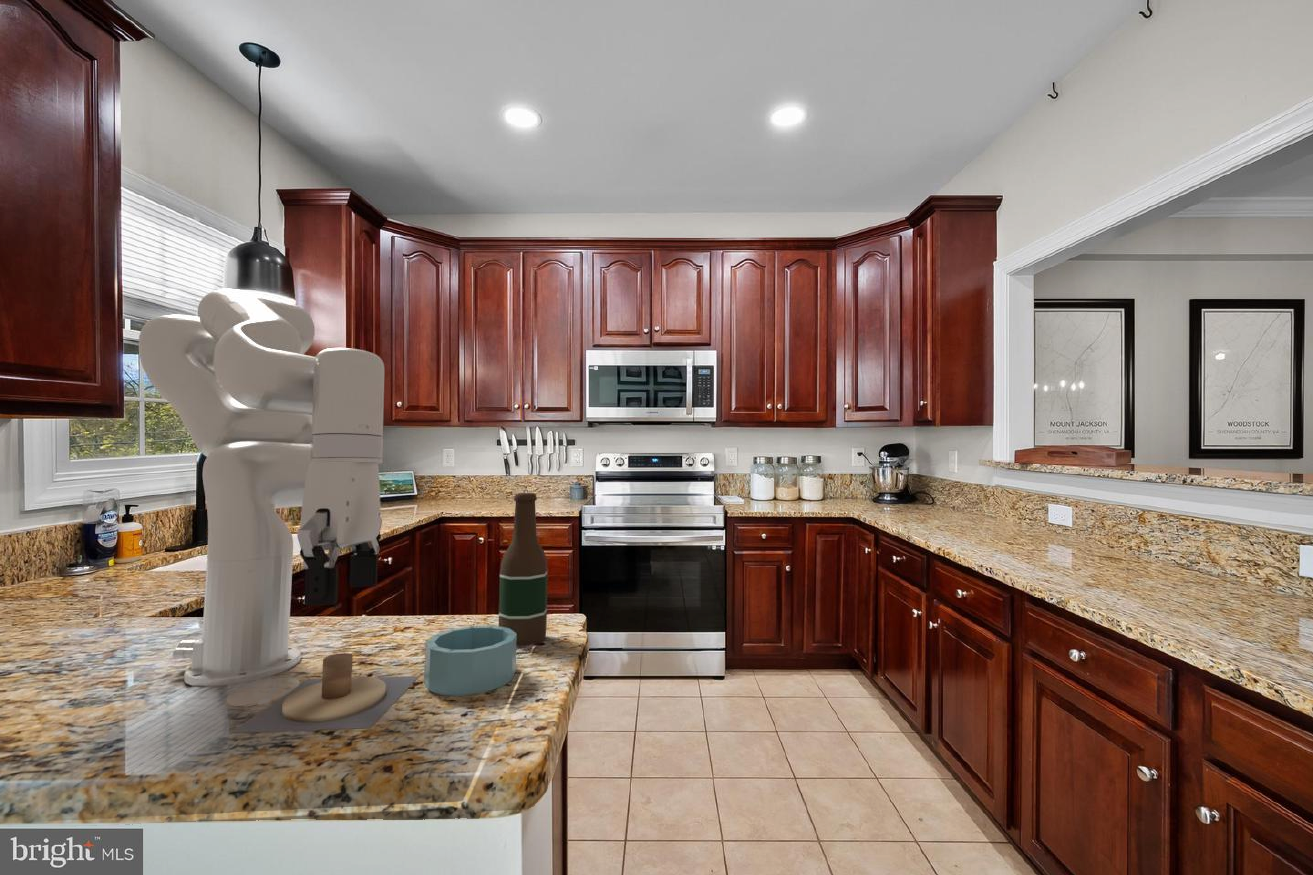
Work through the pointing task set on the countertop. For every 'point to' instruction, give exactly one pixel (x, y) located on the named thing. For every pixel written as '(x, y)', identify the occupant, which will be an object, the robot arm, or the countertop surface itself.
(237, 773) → the countertop surface
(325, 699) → the lid
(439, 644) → the bowl
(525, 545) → the beer bottle
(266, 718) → the mat
